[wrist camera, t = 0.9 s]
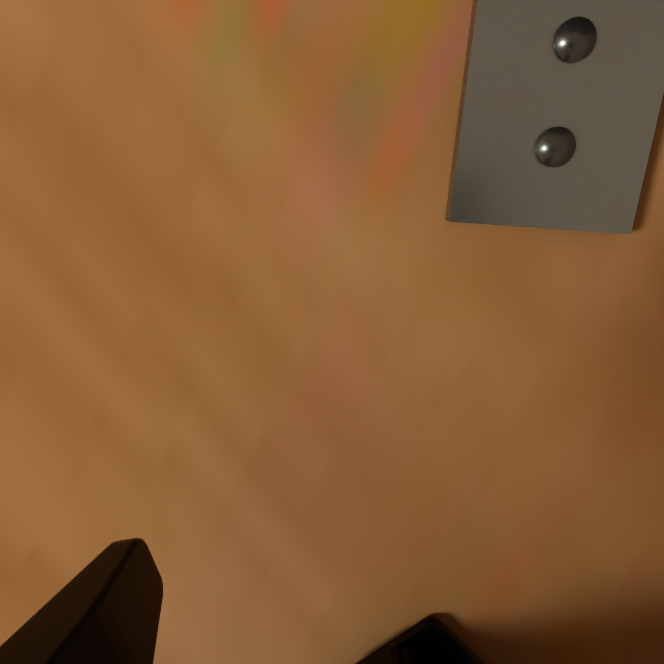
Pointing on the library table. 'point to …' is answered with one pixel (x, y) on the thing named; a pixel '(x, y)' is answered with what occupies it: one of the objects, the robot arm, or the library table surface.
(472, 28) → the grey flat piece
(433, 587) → the library table surface
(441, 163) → the library table surface
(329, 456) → the library table surface
